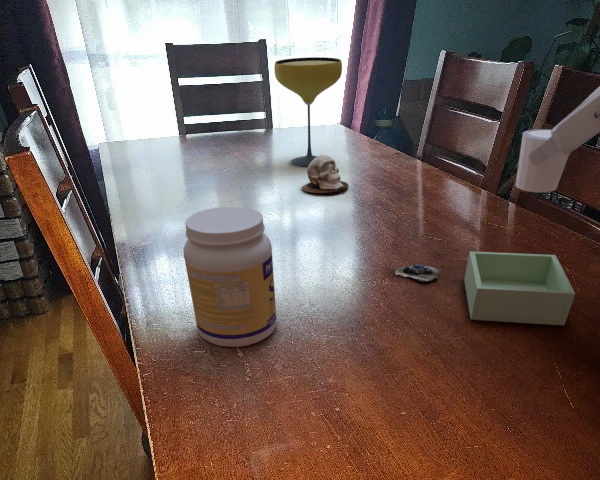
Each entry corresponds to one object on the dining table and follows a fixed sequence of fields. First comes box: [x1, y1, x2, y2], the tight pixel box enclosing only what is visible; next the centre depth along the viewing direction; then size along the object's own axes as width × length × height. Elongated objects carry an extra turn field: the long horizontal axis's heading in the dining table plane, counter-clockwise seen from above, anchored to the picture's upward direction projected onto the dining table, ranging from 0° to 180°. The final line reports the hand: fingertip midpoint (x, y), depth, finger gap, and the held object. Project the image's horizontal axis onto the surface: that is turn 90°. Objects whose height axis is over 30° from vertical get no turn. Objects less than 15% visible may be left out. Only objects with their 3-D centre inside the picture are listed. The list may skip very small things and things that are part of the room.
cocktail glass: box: [273, 56, 343, 168], centre depth 143 cm, size 18×18×25 cm
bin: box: [464, 251, 576, 326], centre depth 81 cm, size 14×14×5 cm
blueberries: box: [394, 263, 441, 283], centre depth 90 cm, size 7×8×2 cm
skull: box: [301, 154, 349, 194], centre depth 130 cm, size 12×10×10 cm
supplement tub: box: [183, 205, 278, 348], centre depth 73 cm, size 12×12×17 cm
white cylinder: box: [515, 128, 571, 194], centre depth 72 cm, size 7×7×7 cm
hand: (539, 153), depth 72 cm, fingers closed on white cylinder, 7 cm apart
